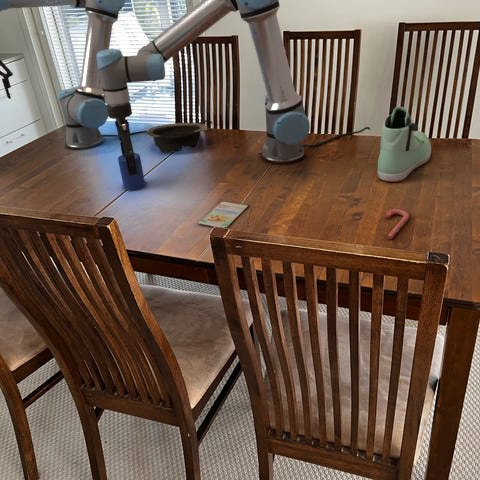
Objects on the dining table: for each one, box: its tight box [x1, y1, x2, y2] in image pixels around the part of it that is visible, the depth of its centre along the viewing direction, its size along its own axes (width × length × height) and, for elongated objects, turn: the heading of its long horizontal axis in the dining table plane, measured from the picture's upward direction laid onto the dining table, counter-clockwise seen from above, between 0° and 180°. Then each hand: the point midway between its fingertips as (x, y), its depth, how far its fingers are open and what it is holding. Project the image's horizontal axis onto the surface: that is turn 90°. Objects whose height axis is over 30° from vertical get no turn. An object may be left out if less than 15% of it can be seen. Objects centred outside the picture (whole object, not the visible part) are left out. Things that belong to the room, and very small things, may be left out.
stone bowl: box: [143, 122, 208, 154], centre depth 192 cm, size 25×25×9 cm
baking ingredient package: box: [198, 201, 249, 228], centre depth 141 cm, size 9×1×15 cm
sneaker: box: [376, 106, 432, 183], centre depth 158 cm, size 14×35×20 cm, turn 152°
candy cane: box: [385, 208, 410, 240], centre depth 129 cm, size 6×15×2 cm, turn 145°
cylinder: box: [117, 152, 146, 191], centre depth 160 cm, size 7×7×11 cm
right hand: (130, 167), depth 160 cm, fingers open, 13 cm apart
